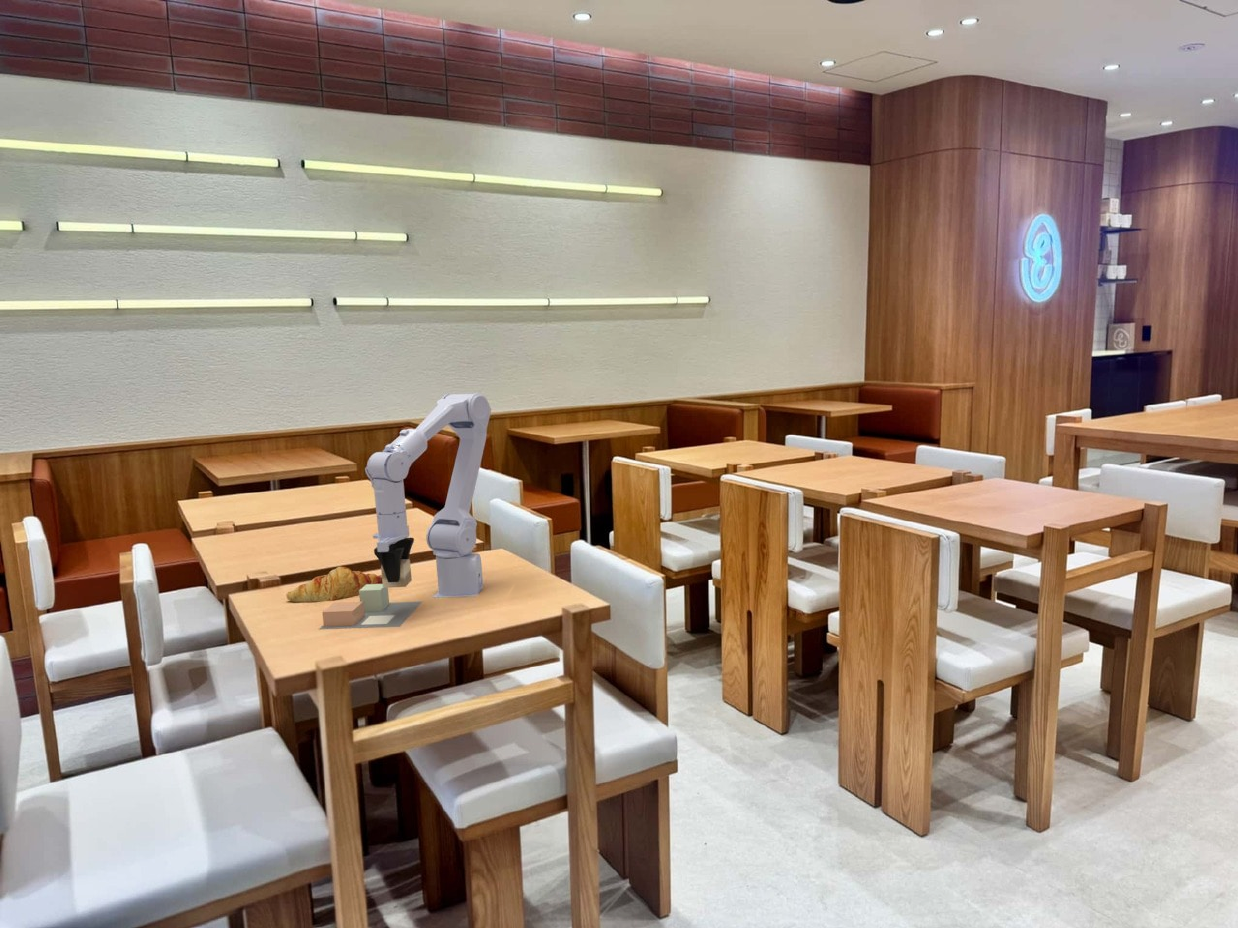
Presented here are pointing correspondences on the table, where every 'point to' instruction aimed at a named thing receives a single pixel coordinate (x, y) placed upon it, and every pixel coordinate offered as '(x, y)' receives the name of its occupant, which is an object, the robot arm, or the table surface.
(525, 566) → the table surface
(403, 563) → the maple cube
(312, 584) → the croissant
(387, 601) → the sage cube
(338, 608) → the terracotta slab
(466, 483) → the robot arm
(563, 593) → the table surface
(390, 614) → the board
